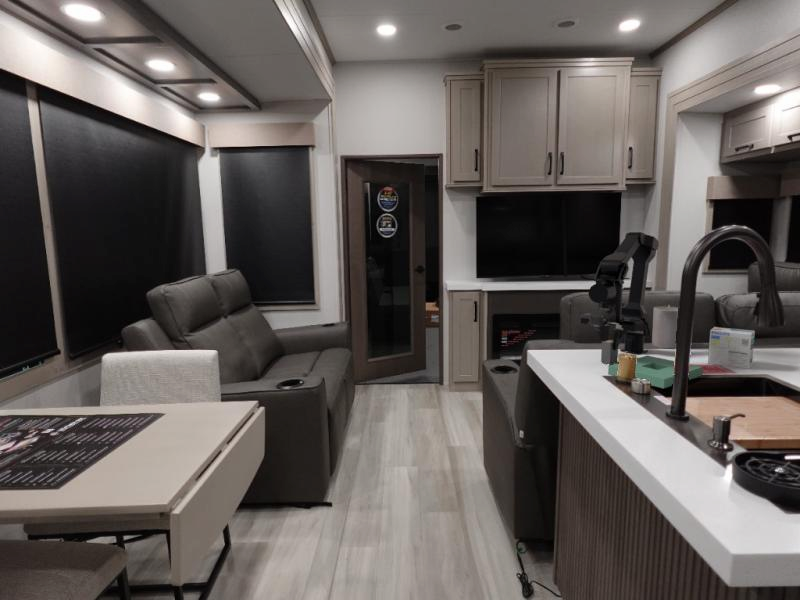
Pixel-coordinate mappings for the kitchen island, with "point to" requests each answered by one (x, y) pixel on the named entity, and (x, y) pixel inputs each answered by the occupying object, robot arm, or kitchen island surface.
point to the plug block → (608, 352)
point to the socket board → (657, 370)
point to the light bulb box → (731, 347)
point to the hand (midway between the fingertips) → (609, 349)
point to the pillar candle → (664, 326)
